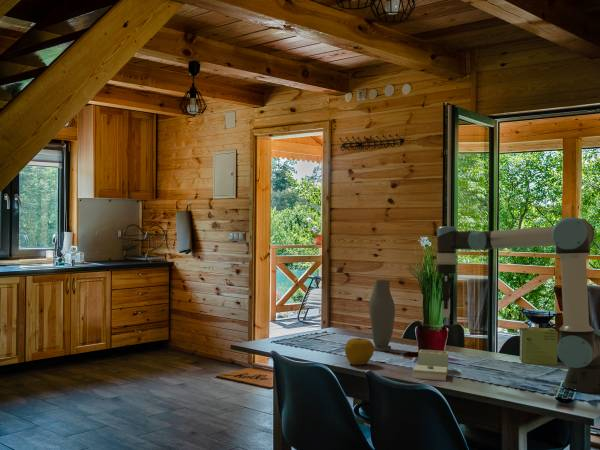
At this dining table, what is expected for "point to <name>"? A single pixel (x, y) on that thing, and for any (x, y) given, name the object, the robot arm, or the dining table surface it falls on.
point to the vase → (382, 315)
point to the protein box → (538, 345)
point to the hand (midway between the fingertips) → (446, 315)
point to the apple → (359, 351)
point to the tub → (433, 358)
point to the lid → (430, 372)
